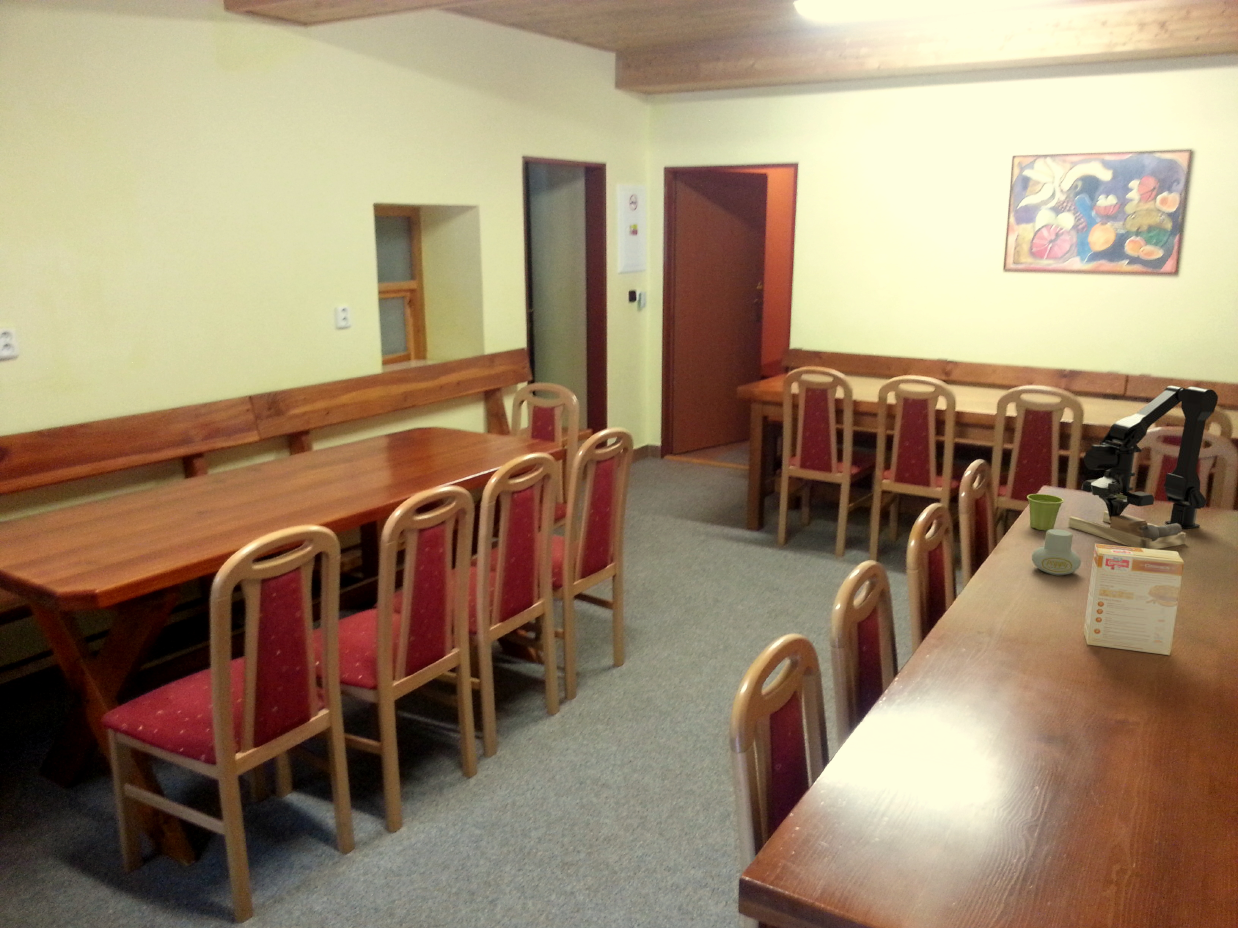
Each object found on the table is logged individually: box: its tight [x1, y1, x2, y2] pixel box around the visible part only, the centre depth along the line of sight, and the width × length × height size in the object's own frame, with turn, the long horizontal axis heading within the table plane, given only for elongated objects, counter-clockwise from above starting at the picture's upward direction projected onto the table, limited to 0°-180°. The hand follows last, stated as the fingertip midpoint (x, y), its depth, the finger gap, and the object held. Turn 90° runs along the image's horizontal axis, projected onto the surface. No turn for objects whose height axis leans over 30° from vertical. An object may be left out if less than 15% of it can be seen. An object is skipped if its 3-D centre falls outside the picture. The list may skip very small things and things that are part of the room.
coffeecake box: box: [1083, 543, 1185, 656], centre depth 190 cm, size 15×7×20 cm, turn 71°
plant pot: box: [1026, 493, 1065, 532], centre depth 269 cm, size 9×9×9 cm
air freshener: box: [1031, 528, 1082, 576], centre depth 233 cm, size 11×8×10 cm
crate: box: [1109, 514, 1148, 538], centre depth 263 cm, size 6×7×5 cm
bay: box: [1067, 510, 1187, 550], centre depth 263 cm, size 16×25×7 cm, turn 25°
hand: (1112, 522), depth 267 cm, fingers closed
